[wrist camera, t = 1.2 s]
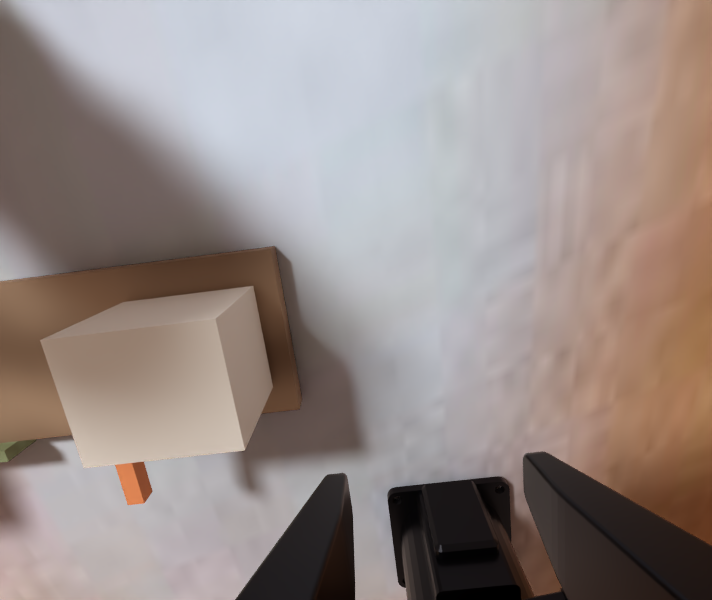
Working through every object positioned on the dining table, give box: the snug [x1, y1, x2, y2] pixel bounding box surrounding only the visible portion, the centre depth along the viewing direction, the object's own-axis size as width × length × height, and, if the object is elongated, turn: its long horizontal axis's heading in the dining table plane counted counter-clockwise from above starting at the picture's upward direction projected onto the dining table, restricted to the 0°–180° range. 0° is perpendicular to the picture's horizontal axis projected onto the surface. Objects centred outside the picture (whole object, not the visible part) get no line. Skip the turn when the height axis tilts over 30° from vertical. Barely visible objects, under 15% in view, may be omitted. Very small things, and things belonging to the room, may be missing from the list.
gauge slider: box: [40, 286, 273, 505], centre depth 17 cm, size 8×6×5 cm
